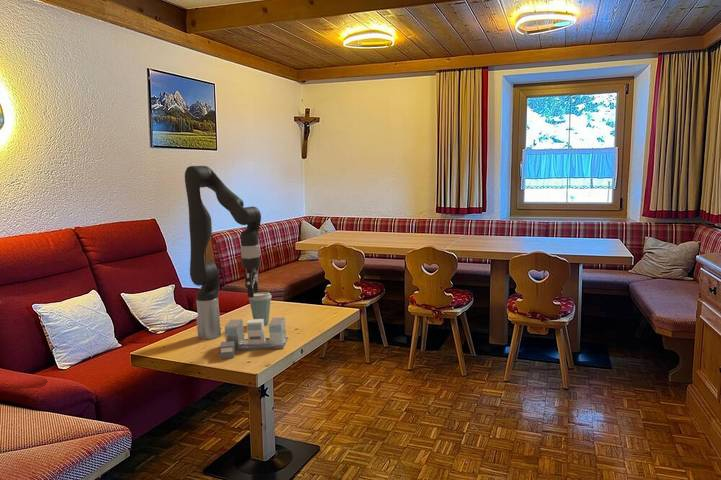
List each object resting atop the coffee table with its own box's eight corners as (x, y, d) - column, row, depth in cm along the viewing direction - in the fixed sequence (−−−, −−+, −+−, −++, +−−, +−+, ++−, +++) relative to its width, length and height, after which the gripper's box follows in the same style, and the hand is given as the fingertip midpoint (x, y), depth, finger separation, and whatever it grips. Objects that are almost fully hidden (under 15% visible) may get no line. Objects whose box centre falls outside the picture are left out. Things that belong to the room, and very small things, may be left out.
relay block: (220, 359, 209) (219, 347, 209) (222, 354, 215) (221, 342, 215) (234, 358, 210) (233, 345, 209) (235, 353, 216) (234, 341, 215)
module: (248, 344, 222) (246, 323, 220) (251, 340, 227) (249, 319, 226) (262, 343, 221) (261, 322, 220) (265, 339, 227) (263, 318, 225)
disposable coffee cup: (246, 324, 255) (243, 294, 253) (265, 319, 263) (263, 289, 261) (258, 328, 248) (256, 297, 246) (278, 323, 255) (275, 292, 253)
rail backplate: (224, 351, 219) (222, 327, 217) (232, 341, 230) (230, 319, 229) (283, 348, 218) (281, 324, 217) (287, 339, 230) (286, 316, 229)
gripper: (245, 253, 226) (248, 291, 228) (237, 259, 212) (239, 299, 214) (263, 252, 226) (265, 290, 228) (256, 258, 212) (258, 298, 214)
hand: (253, 294), depth 221 cm, fingers open, 8 cm apart
